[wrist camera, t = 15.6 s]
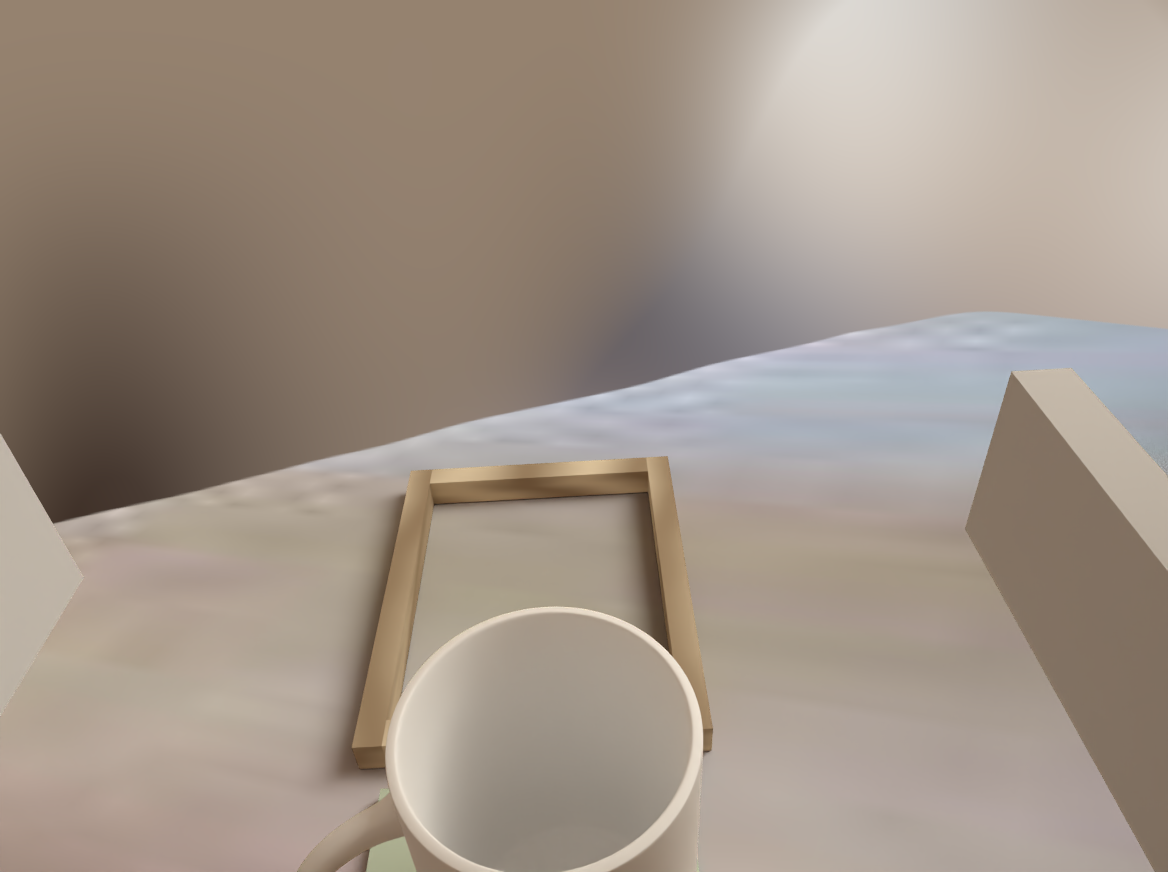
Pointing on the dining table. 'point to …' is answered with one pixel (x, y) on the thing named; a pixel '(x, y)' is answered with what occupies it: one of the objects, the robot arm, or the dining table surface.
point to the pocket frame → (512, 485)
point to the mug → (539, 754)
